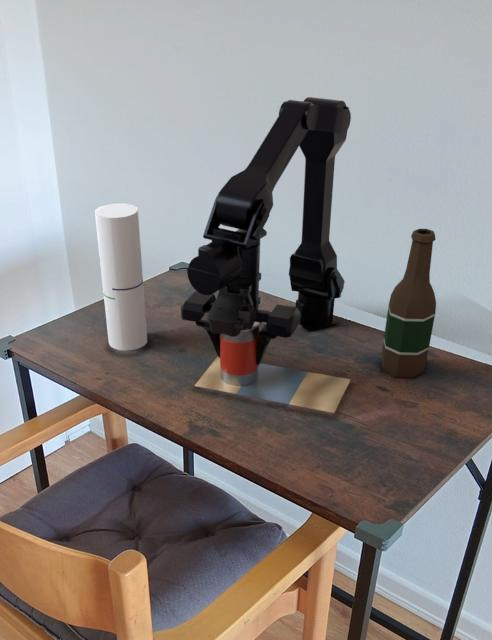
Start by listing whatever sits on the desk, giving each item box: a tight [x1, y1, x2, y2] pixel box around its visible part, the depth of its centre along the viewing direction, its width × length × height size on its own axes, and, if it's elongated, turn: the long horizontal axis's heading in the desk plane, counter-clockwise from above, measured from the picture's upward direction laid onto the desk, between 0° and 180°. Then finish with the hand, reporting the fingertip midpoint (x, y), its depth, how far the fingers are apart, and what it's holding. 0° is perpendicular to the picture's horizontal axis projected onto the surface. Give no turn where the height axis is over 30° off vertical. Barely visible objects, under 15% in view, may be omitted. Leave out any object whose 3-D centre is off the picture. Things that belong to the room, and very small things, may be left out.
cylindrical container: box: [94, 202, 148, 352], centre depth 132 cm, size 7×7×25 cm
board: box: [194, 356, 352, 414], centre depth 126 cm, size 24×11×1 cm, turn 68°
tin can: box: [220, 322, 261, 387], centre depth 125 cm, size 6×6×10 cm
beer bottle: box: [380, 228, 437, 379], centre depth 124 cm, size 8×8×24 cm
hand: (239, 360), depth 126 cm, fingers closed on tin can, 6 cm apart
